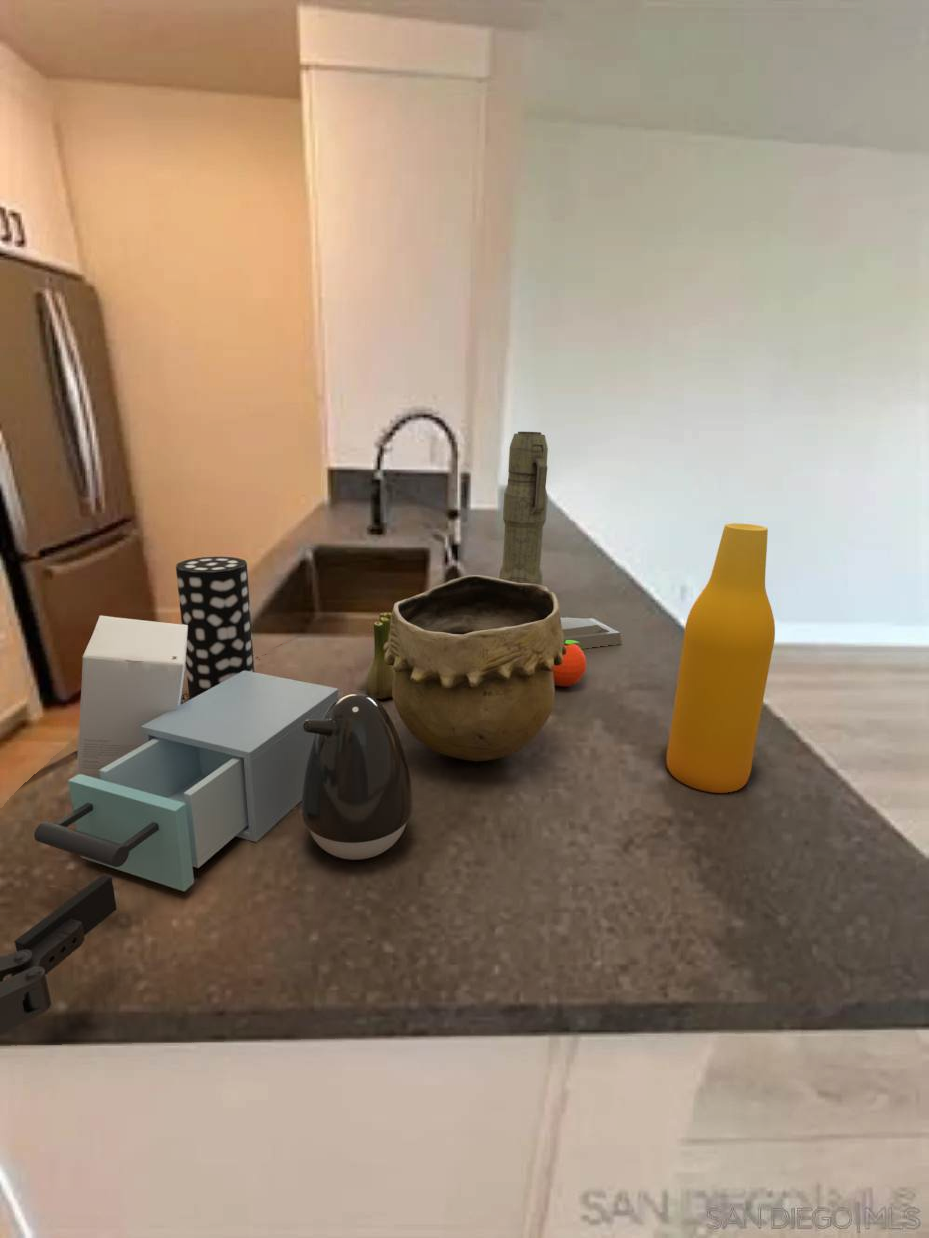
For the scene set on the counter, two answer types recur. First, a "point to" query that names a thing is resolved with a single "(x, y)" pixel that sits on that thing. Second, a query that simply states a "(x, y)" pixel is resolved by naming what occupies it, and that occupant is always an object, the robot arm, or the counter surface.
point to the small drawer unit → (254, 737)
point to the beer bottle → (724, 668)
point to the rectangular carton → (126, 686)
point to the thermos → (525, 508)
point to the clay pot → (475, 665)
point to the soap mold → (589, 632)
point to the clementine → (570, 665)
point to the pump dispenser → (356, 780)
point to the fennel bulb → (380, 662)
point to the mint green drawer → (155, 811)
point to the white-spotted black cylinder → (215, 620)
